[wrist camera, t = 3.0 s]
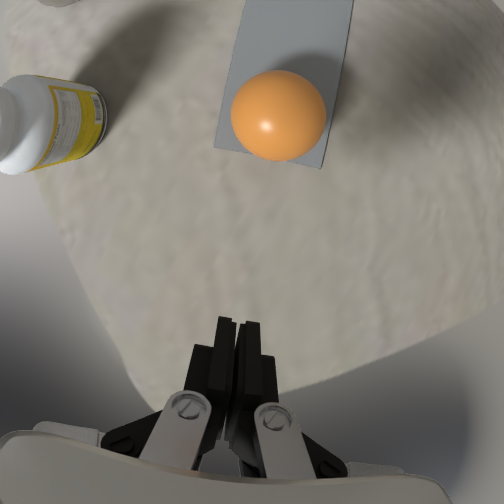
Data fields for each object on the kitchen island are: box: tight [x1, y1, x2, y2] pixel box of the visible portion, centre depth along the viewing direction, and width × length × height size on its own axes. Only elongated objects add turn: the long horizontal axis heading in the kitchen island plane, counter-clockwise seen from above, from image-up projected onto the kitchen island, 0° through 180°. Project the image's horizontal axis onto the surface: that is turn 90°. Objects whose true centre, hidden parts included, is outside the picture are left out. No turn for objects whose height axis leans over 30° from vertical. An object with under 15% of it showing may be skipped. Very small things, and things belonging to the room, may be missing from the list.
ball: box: [231, 70, 326, 161], centre depth 18 cm, size 6×6×6 cm
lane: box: [214, 0, 353, 169], centre depth 18 cm, size 8×22×1 cm, turn 169°
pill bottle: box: [0, 75, 107, 175], centre depth 15 cm, size 6×6×12 cm
